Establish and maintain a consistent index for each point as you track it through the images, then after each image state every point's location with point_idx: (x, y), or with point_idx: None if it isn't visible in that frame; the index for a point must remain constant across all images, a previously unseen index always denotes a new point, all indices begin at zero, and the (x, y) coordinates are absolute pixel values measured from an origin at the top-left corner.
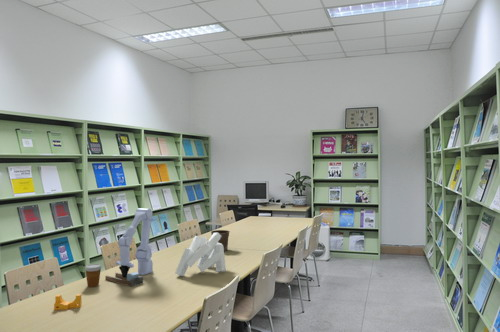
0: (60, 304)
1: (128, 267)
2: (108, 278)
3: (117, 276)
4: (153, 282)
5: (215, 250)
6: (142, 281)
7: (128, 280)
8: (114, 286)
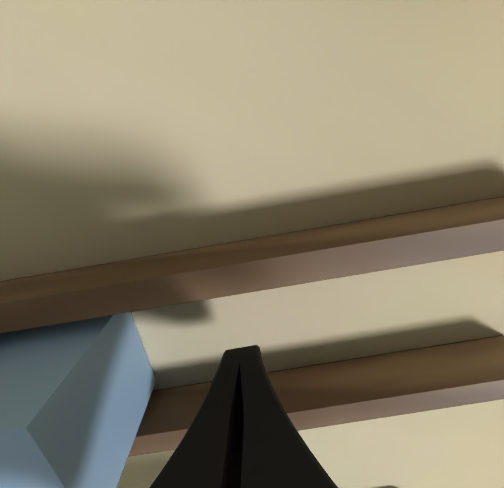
0: None
1: None
2: (487, 209)
3: (472, 348)
4: None
5: None
6: None
7: (61, 338)
8: (121, 118)
